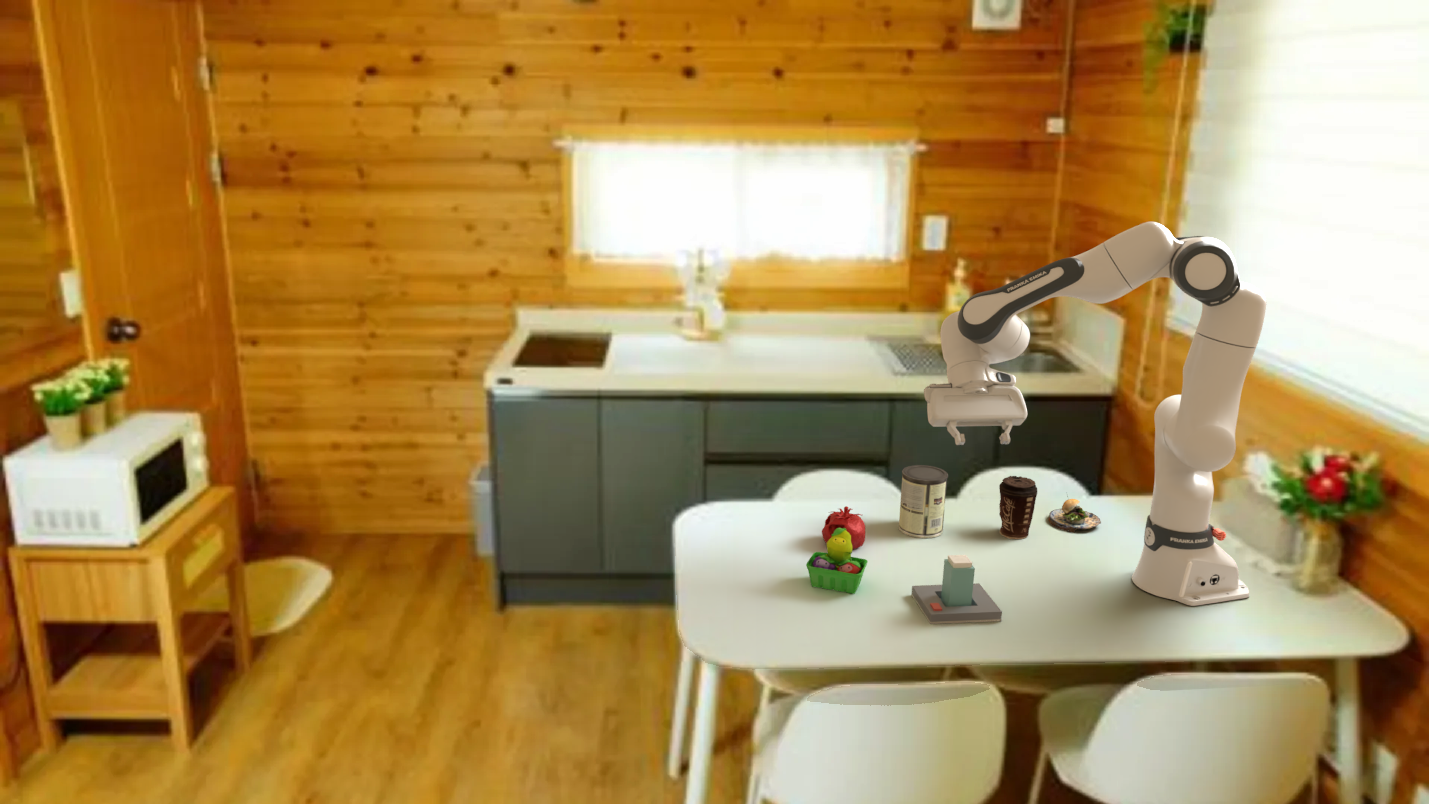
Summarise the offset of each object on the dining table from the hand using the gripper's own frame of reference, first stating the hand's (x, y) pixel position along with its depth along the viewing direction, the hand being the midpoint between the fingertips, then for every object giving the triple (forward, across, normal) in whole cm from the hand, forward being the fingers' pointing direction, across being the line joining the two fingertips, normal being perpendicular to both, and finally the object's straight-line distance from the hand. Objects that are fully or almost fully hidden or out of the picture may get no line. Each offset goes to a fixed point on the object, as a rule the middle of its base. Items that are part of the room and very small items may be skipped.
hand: (983, 443), depth 210 cm
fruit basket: (+22, -29, +20) cm, 41 cm away
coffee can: (+4, -3, +38) cm, 39 cm away
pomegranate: (+8, -23, +34) cm, 41 cm away
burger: (+3, +35, +39) cm, 53 cm away
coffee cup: (+6, +18, +36) cm, 40 cm away
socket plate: (+30, -8, +11) cm, 33 cm away
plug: (+30, -8, +11) cm, 33 cm away
